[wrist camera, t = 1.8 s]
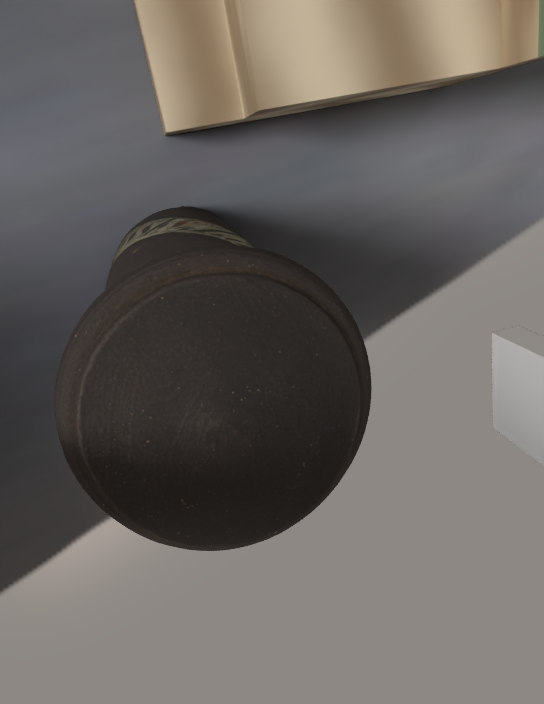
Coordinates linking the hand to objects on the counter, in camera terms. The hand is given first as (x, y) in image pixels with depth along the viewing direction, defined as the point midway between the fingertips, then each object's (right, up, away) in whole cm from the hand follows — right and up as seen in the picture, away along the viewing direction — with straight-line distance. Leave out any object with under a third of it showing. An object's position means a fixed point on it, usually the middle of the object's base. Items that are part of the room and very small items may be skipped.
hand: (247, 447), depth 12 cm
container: (-5, +7, +19) cm, 21 cm away
